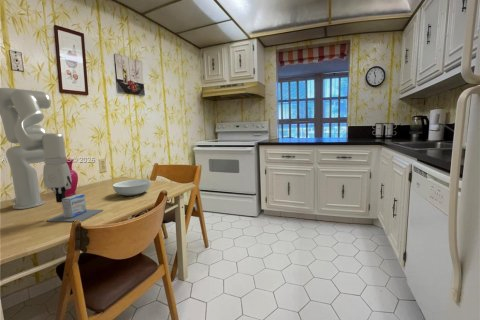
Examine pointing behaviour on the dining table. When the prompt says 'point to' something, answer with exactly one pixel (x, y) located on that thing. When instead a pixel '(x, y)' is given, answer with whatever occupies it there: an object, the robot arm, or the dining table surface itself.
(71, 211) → the medicine box
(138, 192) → the serving bowl
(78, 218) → the slate mat
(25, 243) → the dining table surface
